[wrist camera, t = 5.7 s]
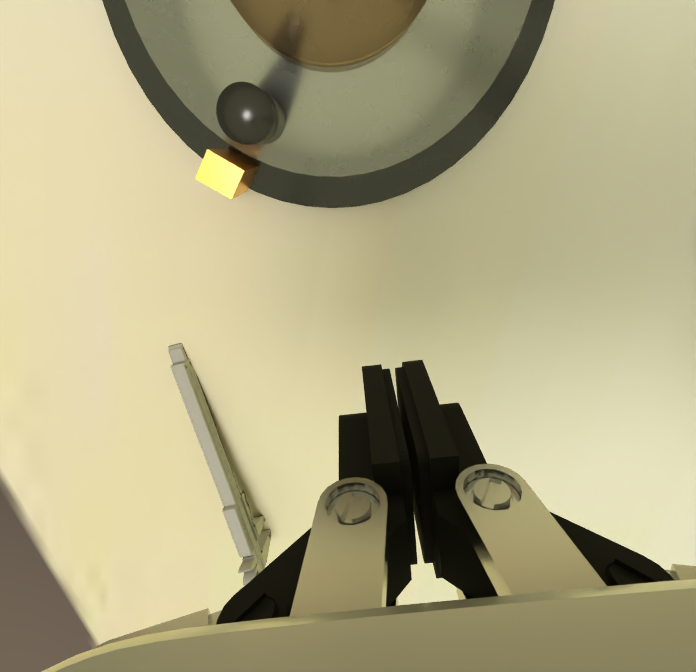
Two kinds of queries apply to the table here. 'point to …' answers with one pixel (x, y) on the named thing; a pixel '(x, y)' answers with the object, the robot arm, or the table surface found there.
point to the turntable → (329, 72)
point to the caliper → (222, 471)
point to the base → (325, 191)
